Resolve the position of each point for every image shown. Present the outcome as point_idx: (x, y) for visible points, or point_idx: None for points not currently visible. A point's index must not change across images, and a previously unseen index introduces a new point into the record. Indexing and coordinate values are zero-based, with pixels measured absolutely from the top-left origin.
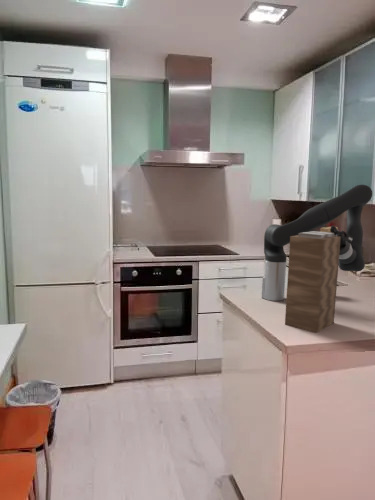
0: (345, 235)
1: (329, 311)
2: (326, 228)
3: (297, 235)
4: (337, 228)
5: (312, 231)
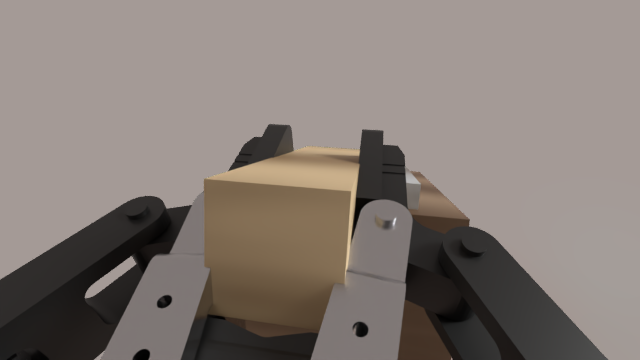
0: (73, 289)
1: None
2: (314, 146)
3: (425, 181)
4: (205, 204)
5: (409, 179)
